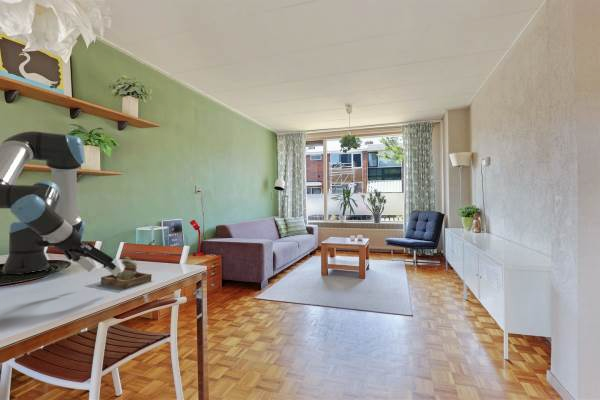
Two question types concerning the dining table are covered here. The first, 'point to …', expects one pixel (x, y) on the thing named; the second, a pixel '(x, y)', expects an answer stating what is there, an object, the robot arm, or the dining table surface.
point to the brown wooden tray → (115, 282)
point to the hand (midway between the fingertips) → (104, 271)
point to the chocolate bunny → (128, 270)
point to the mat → (111, 287)
